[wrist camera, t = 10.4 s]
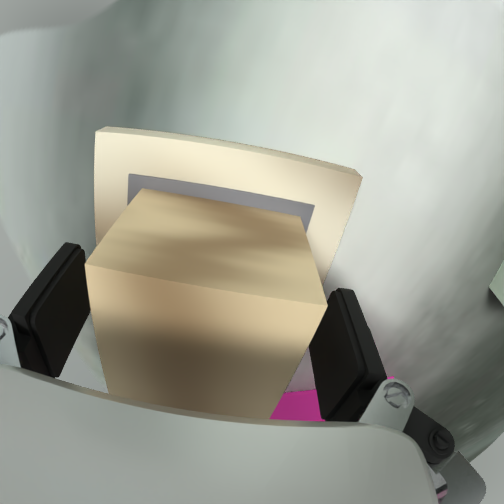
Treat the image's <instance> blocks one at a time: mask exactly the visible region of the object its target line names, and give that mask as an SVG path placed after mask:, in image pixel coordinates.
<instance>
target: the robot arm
mask: <svg viewBox="0 0 504 504" xmlns="http://www.w3.org/2000/svg"><path fill="white" fill-rule="evenodd" d="M85 263H86V260H85V252H84V250H83V249H81V246H80V245H78V244H73V243H68V242H66V243H65V244H64V245H63V246H62V247H61V248H60V249H59V250H58V252H57V253H56V254H55V255H54V256H53V258H52V259H51V260H50V261H49V263H48V264H47V265H46V266H45V268H44V269H43V270H42V271H41V273H40V274H39V275H38V277H37V278H36V279H35V280H34V282H33V283H32V284H31V286H30V287H29V289H28V290H27V291H26V292H25V294H24V295H23V297H22V298H21V299H20V301H19V302H18V304H17V305H16V306H15V308H14V309H13V311H12V312H11V314H10V315H9V317H8V318H7V317H5V316H3V315H0V504H479V503H480V502H481V501H482V499H483V498H484V496H485V493H486V485H485V482H484V480H483V478H482V477H481V476H480V475H479V474H478V473H477V471H476V470H475V469H474V468H473V467H472V466H471V464H470V463H469V462H468V461H467V460H466V458H465V457H464V456H463V455H462V454H461V453H460V451H457V452H455V451H454V447H455V445H454V439H453V436H452V435H451V433H450V432H449V431H448V430H447V429H446V428H444V427H443V426H441V425H440V424H438V423H437V422H436V421H434V420H433V419H431V418H430V417H428V416H427V415H426V414H424V413H423V412H421V411H420V410H418V409H417V408H416V407H414V402H415V397H414V394H413V391H412V390H411V388H410V387H409V386H408V385H407V384H406V383H404V382H403V381H401V380H398V379H387V376H386V373H385V370H384V367H383V364H382V362H381V359H380V356H379V353H378V351H377V348H376V345H375V342H374V340H373V337H372V334H371V332H370V329H369V327H368V326H367V323H366V321H365V318H364V316H363V313H362V310H361V308H360V305H359V303H358V300H357V298H356V295H355V293H354V291H353V290H351V289H344V288H338V289H337V290H336V291H332V293H331V294H330V297H329V299H328V301H327V305H328V307H327V309H326V311H325V313H324V315H323V317H322V319H321V321H320V323H319V325H318V328H317V330H316V332H315V334H314V336H313V338H312V340H311V342H310V344H309V351H310V356H311V362H312V367H313V373H314V379H315V385H316V391H317V397H318V403H319V409H320V415H321V418H322V419H323V420H325V421H296V420H275V419H260V418H248V417H238V416H228V415H220V414H212V413H204V412H197V411H191V410H184V409H178V408H172V407H167V406H161V405H156V404H151V403H146V402H142V401H137V400H132V399H128V398H124V397H119V396H115V395H111V394H107V393H103V392H100V391H96V390H92V389H89V388H85V387H81V386H78V385H74V384H72V383H68V382H65V381H61V380H58V379H55V377H59V376H60V374H61V372H62V369H63V367H64V365H65V363H66V360H67V358H68V356H69V354H70V352H71V350H72V348H73V345H74V343H75V341H76V339H77V337H78V335H79V333H80V331H81V329H82V327H83V325H84V323H85V321H86V319H87V317H88V315H89V313H90V311H91V308H90V301H89V294H88V287H87V280H86V271H85Z"/></svg>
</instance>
